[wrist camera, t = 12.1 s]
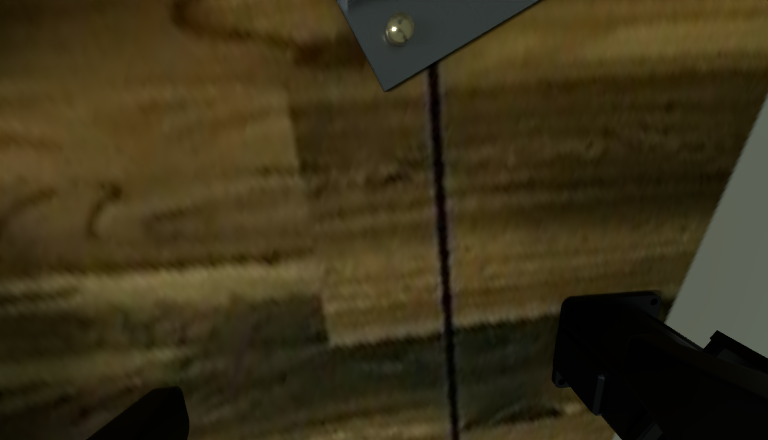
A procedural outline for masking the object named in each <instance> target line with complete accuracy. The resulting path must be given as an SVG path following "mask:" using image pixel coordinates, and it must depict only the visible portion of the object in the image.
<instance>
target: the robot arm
mask: <svg viewBox="0 0 768 440" xmlns="http://www.w3.org/2000/svg"><path fill="white" fill-rule="evenodd" d="M651 300H652V301H651ZM660 305H661V297H660V296H659V295H657V294H655V293H653V292H644V293H631V294H618V295H605V296H593V297H580V298H569V299H566V300H565V301H564V302H563V303H562V306H561V312H560V320H559V327H558V333H557V336H556V344H555V351H554V359H553V372H552V381H553V383H554V384H555V385H556V387H558V388H566V387H571V388H572V389H573V391H574V392H575V393H576V394H577V395H578V397H579V398H580V399H581V400H582V401H583V403H584V404H585V405H586V406H587V407H588V409H589V410H590V411H591V412H592V413H593V414H594V415H596V416H598V415H601V416H602V417H603V418H604V420H605V421H606V422H607V423H608V424H609V425H610V427H611V428H612V429H613V430H614V431H615V432H616V434H617V435H618V436H619V437H620V438H621V439H622V440H768V358H766V357H764V356H762V355H761V354H759V353H757V352H755V351H753V350H752V349H750V348H748V347H746V346H744V345H742V344H741V343H739V342H737V341H736V340H734V339H732V338H730V337H728V336H726V335H725V334H723V333H721V332H719V331H718V330H717V331H716V332H715V333H714V334H713V335H712V336H711V337H710V339H711V341H710V342H709V343H708V344H707V346H706V347H705V348H704V349H703V348H701V347H700V346H698V345H697V344H695V343H694V342H692V341H691V340H689V339H687V338H686V337H684V336H683V335H681V334H680V333H678V332H676V331H675V330H673V329H672V328H670V327H669V326H667V325H666V324H664V323H663V322H661V321H660V320H658V319H657V318H658V314H659V309H660ZM570 306H572V307H571V308H570V309H569V307H570ZM560 379H561V380H560ZM188 434H189V417H188V413H187V409H186V405H185V400H184V396H183V392H182V390H181V388H180V387H178V386H168V387H159V388H155V389H153V390H151V391H150V392H148V393H147V394H146V395H144V396H143V397H142V398H140V399H139V400H138V401H136V402H135V403H134V404H132V405H131V406H130V407H128V408H127V409H126V410H125V411H123V412H122V413H121V414H119V415H118V416H117V417H115V418H114V419H113V420H111V421H110V422H109V423H107V424H106V425H105V426H103V427H102V428H101V429H100V430H98V431H97V432H96V433H94V434H93V435H92V436H90V437H89V438H88V439H86V440H187V438H188Z"/></svg>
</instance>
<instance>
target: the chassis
mask: <svg viewBox="0 0 768 440" xmlns="http://www.w3.org/2000/svg"><path fill="white" fill-rule="evenodd" d="M336 1H337V3H338V5H339V7H340V9H341V11H342V13H343V15H344V16H345V18H346V20H347V22H348V24H349V26H350V28H351V30H352V32H353V34H354V35H355V37H356V39H357V41H358V43H359V45H360V47H361V49H362V51H363V53H364V54H365V56H366V58H367V60H368V62H369V64H370V66H371V68H372V70H373V72H374V74H375V75H376V77H377V79H378V81H379V83H380V85H381V87H382V89H383V91H384V92H385V91H386V90H388V89H390V88H391V87H393V86H395V85H397V84H398V83H400V82H402V81H403V80H405V79H407V78H408V77H410V76H412V75H413V74H415V73H417V72H418V71H420V70H422V69H423V68H425V67H427V66H429V65H430V64H432V63H434V62H435V61H437V60H439V59H440V58H442V57H444V56H445V55H447V54H449V53H450V52H452V51H454V50H455V49H457V48H459V47H460V46H462V45H464V44H466V43H467V42H469V41H471V40H472V39H474V38H476V37H477V36H479V35H481V34H482V33H484V32H486V31H487V30H489V29H491V28H492V27H494V26H496V25H498V24H499V23H501V22H503V21H504V20H506V19H508V18H509V17H511V16H513V15H514V14H516V13H518V12H519V11H521V10H523V9H524V8H526V7H528V6H530V5H531V4H533V3H535V2H536V1H538V0H336Z"/></svg>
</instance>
